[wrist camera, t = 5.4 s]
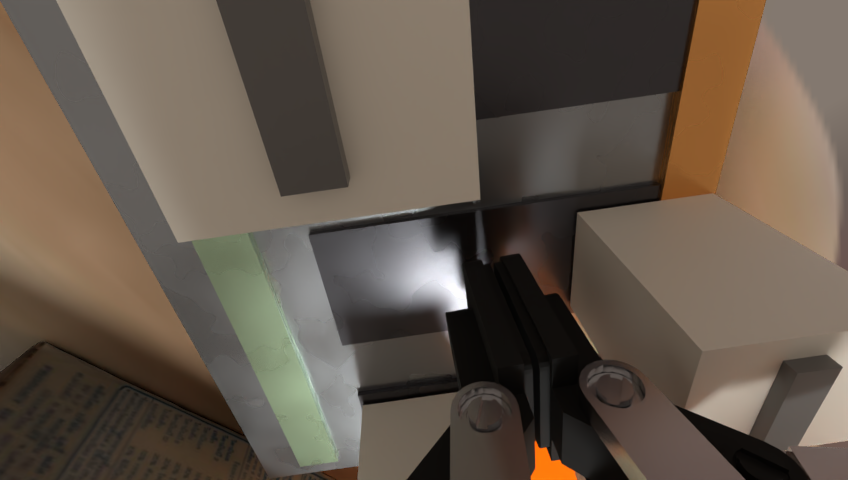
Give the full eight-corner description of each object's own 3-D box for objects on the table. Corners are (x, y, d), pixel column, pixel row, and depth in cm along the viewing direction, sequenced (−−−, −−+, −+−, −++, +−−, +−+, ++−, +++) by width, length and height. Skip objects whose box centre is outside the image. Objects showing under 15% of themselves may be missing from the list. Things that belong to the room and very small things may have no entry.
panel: (630, 386, 19) (657, 430, 17) (280, 436, 19) (267, 485, 17) (734, -136, 10) (820, -172, 8) (46, -38, 10) (-41, -48, 8)
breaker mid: (688, 288, 14) (861, 453, 9) (570, 305, 14) (675, 480, 9) (712, 193, 12) (950, 331, 7) (577, 212, 12) (714, 364, 7)
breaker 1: (438, 108, 10) (485, 209, 5) (278, 130, 10) (166, 255, 5) (420, -67, 8) (464, -177, 3) (227, -39, 8) (-25, -108, 3)
